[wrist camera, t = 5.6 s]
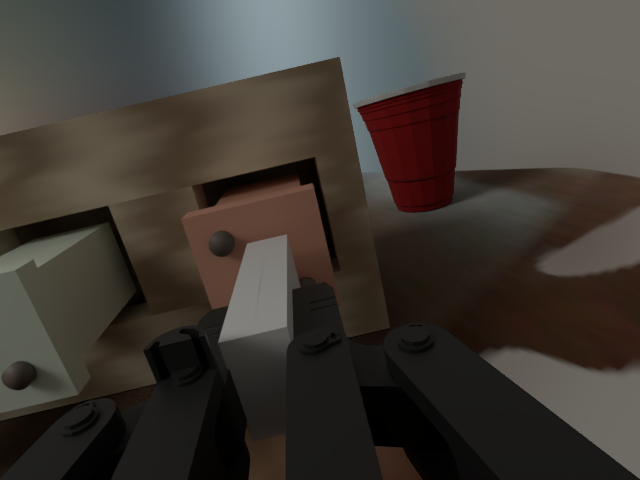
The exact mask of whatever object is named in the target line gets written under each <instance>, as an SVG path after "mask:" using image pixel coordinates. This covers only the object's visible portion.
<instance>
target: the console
mask: <svg viewBox="0 0 640 480" xmlns="http://www.w3.org/2000/svg"><path fill="white" fill-rule="evenodd" d="M295 172H298V176H299V180H300V184H301V186H303V185H307V184H311V183H312V184H313V186H314V190H315V194H316V199H317V203H318V207H319V212H320V216H321V220H322V225H323V229H324V234H325V238H326V242H327V247H328V251H329V256H330V260H331V264H332V269H333V273H334V277H335V282H336V286H337V291H338V295H339V299H340V304H341V307H338V308H339V312H340V316H341V320H342V324H343V327H344V331H345V334H346V336H347V337H348V338H349V337H353V336H358V335H362V334H366V333H370V332H374V331H379V330H383V329H387V328H390V324H389V318H388V313H387V308H386V302H385V297H384V292H383V286H382V281H381V276H380V270H379V265H378V260H377V254H376V249H375V243H374V238H373V233H372V227H371V222H370V217H369V211H368V206H367V201H366V195H365V190H364V185H363V179H362V174H361V169H360V163H359V158H358V153H357V147H356V142H355V136H354V131H353V126H352V120H351V115H350V110H349V104H348V100H347V94H346V88H345V83H344V78H343V72H342V67H341V62H340V58H339V57H337V58H333V59H329V60H324V61H320V62H316V63H311V64H307V65H303V66H298V67H294V68H290V69H286V70H282V71H277V72H273V73H268V74H264V75H260V76H255V77H251V78H247V79H242V80H238V81H234V82H229V83H225V84H221V85H217V86H212V87H208V88H204V89H199V90H196V91H191V92H186V93H182V94H178V95H173V96H169V97H165V98H161V99H156V100H152V101H148V102H143V103H139V104H135V105H130V106H126V107H122V108H117V109H114V110H109V111H105V112H100V113H96V114H92V115H87V116H83V117H79V118H74V119H70V120H66V121H61V122H57V123H53V124H49V125H44V126H40V127H36V128H31V129H27V130H23V131H19V132H15V133H10V134H6V135H1V136H0V256H2V255H4V254H6V253H8V252H10V251H12V250H14V249H16V248H17V247H19V246H21V245H23V244H25V243H27V242H29V241H31V240H33V239H38V238H42V237H46V236H50V235H55V234H59V233H63V232H67V231H72V230H76V229H80V228H84V227H89V226H93V225H97V224H102V223H106V222H109V224H110V226H111V229H112V231H113V233H114V236H115V238H116V241H117V243H118V246H119V248H120V251H121V253H122V255H123V258H124V260H125V263H126V265H127V268H128V270H129V273H130V275H131V277H132V280H133V282H134V285H135V287H136V290H137V291H136V292H135V294H134V295H133V296H132V297H131V298H130V300H129V301H128V302H127V303H126V305H125V306H124V307H123V308H122V310H121V311H120V312H119V313H118V315H117V316H116V317H115V318H114V319H113V321H112V322H111V323H110V324H109V326H108V327H107V328H106V329H105V331H104V332H103V333H102V334H101V336H100V337H99V338H98V339H97V340H96V342H95V343H94V344H93V345H92V347H91V348H90V349H89V350H88V352H87V353H86V354H85V355H84V356H83V358H82V360H83V362H84V364H85V366H86V368H87V370H88V372H89V374H90V376H91V378H90V379H89V381H88V382H87V383H86V385H85V386H84V388H83V389H82V390H81V392H80V393H79V395H75V396H71V397H67V398H62V399H58V400H54V401H50V402H46V403H41V404H37V405H33V406H29V407H25V408H20V409H16V410H12V411H8V412H4V413H0V421H2V420H6V419H10V418H15V417H19V416H23V415H27V414H31V413H35V412H40V411H44V410H48V409H52V408H56V407H61V406H65V405H69V404H73V403H77V402H81V401H86V400H90V399H94V398H98V397H102V396H107V395H111V394H115V393H119V392H123V391H128V390H132V389H136V388H140V387H144V386H148V385H153V384H156V383H157V382H156V380H155V378H154V375H153V373H152V371H151V368H150V366H149V364H148V361H147V359H146V357H145V354H144V352H143V350H144V348H145V347H146V346H147V345H148V344H149V343H150V342H151V341H153V340H154V339H155V338H157V337H158V336H160V335H162V334H164V333H166V332H168V331H170V330H173V329H176V328H179V327H182V326H190V325H195V326H198V323H199V321H200V320H201V319H202V318H203V317H204V316H205V315H206V314H207V313H208V312H209V311H210V310H212V307H211V304H210V301H209V299H208V296H207V293H206V290H205V287H204V284H203V281H202V278H201V275H200V273H199V270H198V267H197V264H196V261H195V258H194V255H193V252H192V249H191V247H190V244H189V241H188V238H187V235H186V232H185V229H184V226H183V224H182V221H181V219H182V218H183V217H184V216H185V215H186V214H187V213H188V212H192V211H196V210H201V209H205V208H209V207H213V206H215V205H216V204H217V203H218V201H219V200H220V198H221V197H222V196H223V194H224V193H225V191H226V190H227V189H228V188H231V187H235V186H239V185H244V184H248V183H252V182H256V181H261V180H265V179H269V178H273V177H278V176H282V175H286V174H290V173H295Z"/></svg>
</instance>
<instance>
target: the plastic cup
mask: <svg viewBox="0 0 640 480" xmlns="http://www.w3.org/2000/svg"><path fill="white" fill-rule="evenodd" d="M464 78H465V73H459V74H454V75H450V76H445V77H441V78H437V79H434V80H430V81H426V82H423V83H419V84H415V85H412V86H408V87H404V88H401V89H398V90H394V91H391V92H388V93H384V94H381V95H378V96H375V97H372V98H369V99H365V100H362V101H360V102H357V103H355V104H353V106H354V108H355V109H356V108H357V109H358V112H359V113H360V115H361V116H362V119H363V121H365V124H366V126H367V129H368V131H369V132H370V135H371V138H372V141H373V144H374V146H375V149H376V152H377V155H378V158H379V161H380V164H381V166H382V169H383V172H384V175H385V178H386V180H387V181H388V184H389V187H390V190H391V193H392V196H393V199H394V202H395V204H396V205H397V208H398V210H401V211H404V212H422V211H428V210H433V209H437V208H440V207H443V206H446V205H447V204H449V203H451V201H452V195H453V193H454V175H455V167H456V155H457V135H458V134H457V133H458V114H459V109H460V97H461V88H462V83H463V82H462V79H464Z"/></svg>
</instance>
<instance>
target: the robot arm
mask: <svg viewBox="0 0 640 480" xmlns="http://www.w3.org/2000/svg"><path fill="white" fill-rule="evenodd" d="M143 352H144V354H145V357H146V359H147V361H148V364H149V366H150V368H151V371H152V373H153V375H154V378H155V380H156V382H157V383H156V385H155V387H154V389H153V391H152V393H151V396H150V398H149V399H148V400H146V401H144V402H142V403H139V404H137V405H135V406H133V407H130V408H128V409H126V410H123V411H121V412H120V411H119V409H118V407H117V405H116V403H115V402H114V401H113V400H112V399H108V398H100V399H95V400H90V401H87V402H84V404H83V403H82V404H80V405H78V406H76V407H74V408H73V409H72V410H71V411H69V412H67V413H66V414H64V415H63V416H62V417H61V418H59V419H58V420H57V421H56V422H55V423H54V424H53V425H52V426H51V427H50V428H49V429H48V430H47V431H46V432H45V433H44V434H43V435H42V436H41V437H40V438H39V439H38V440H37V441H36V442H35V443H34V444H33V445H32V446H31V447H30V448H29V449H28V450H27V451H26V452H25V453H24V454H23V455H22V456H21V457H20V458H19V459H18V460H17V461H16V462H15V463H14V464H13V465H12V466H11V467H10V468H9V469H8V470H7V471H6V472H5V473H4V474H3V475H2V476H1V477H0V480H248V477H249V468H250V455H249V451H248V448H247V445H246V442H245V440H244V439H245V431H246V424H247V427H248V430H249V433H250V435H251V438H252V441H257V440H261V439H265V438H269V437H274V436H278V435H282V434H286V480H383V479H382V475H381V471H380V467H379V463H378V459H377V455H376V451H375V447H374V446H386V447H403V448H404V451H405V453H406V456H407V457H408V459H409V460H410V462H411V463H412V465H413V466H414V468H415V469H416V471H417V472H418V473H419V475H420V476H421V478H422V479H423V480H640V479H639V478H637V477H636V476H635V475H634V474H632V473H631V472H630V471H628V470H627V469H626V468H624V467H623V466H622V465H621V464H619V463H618V462H616V461H615V460H614V459H613V458H611V457H610V456H609V455H608V454H606V453H605V452H604V451H602V450H601V449H600V448H599V447H597V446H596V445H595V444H593V443H592V442H591V441H589V440H588V439H587V438H586V437H584V436H583V435H582V434H580V433H579V432H578V431H576V430H575V429H574V428H572V427H571V426H570V425H569V424H567V423H566V422H565V421H563V420H562V419H561V418H559V417H558V416H557V415H556V414H554V413H553V412H552V411H550V410H549V409H548V408H546V407H545V406H544V405H543V404H541V403H540V402H539V401H537V400H536V399H535V398H533V397H532V396H531V395H530V394H528V393H527V392H526V391H524V390H523V389H522V388H520V387H519V386H518V385H517V384H515V383H514V382H513V381H511V380H510V379H509V378H507V377H506V376H505V375H503V374H502V373H501V372H500V371H498V370H497V369H496V368H494V367H493V366H492V365H491V364H489V363H488V362H487V361H485V360H484V359H483V358H481V357H480V356H479V355H478V354H476V353H475V352H474V351H472V350H471V349H470V348H468V347H467V346H466V345H465V344H463V343H462V342H461V341H459V340H458V339H457V338H455V337H454V336H453V335H451V334H450V333H449V332H448V331H446V330H445V329H443V328H441V327H439V326H437V325H435V324H429V323H424V322H423V323H420V322H417V323H409V324H406V325H402V326H399V327H397V328H395V329H393V330H392V331H390V332H389V333H388V334H387V336H386V337H385V338H384V342H383V345H364V344H359V343H356V342H354V341H352V340H351V339H349V338H348V337H347V336H346V334H345V331H344V327H343V324H342V320H341V316H340V312H339V308H338V304H337V300H336V296H335V292H334V289H333V287H332V286H330V285H329V284H327V283H326V282H322V283H318V284H313V285H309V286H305V287H301V286H300V283H299V279H298V275H297V271H296V267H295V263H294V259H293V256H292V252H291V248H290V244H289V240H288V236H287V234H286V235H282V236H277V237H273V238H269V239H265V240H260V241H256V242H252V243H247V246H246V249H245V252H244V256H243V259H242V263H241V266H240V269H239V273H238V276H237V280H236V283H235V286H234V290H233V293H232V297H231V300H230V303H229V306H225V307H221V308H217V309H213V310H210V311H209V312H208V313H207V314H206V315H205V316H204V317H203V318H202V319H201V320H200V321H199V323H198V326H195V325H190V326H182V327H179V328H176V329H173V330H170V331H168V332H166V333H164V334H162V335H160V336H158V337H157V338H155V339H154V340H153V341H151V342H150V343H149V344H148V345H147V346H146V347H145V348H144V350H143Z"/></svg>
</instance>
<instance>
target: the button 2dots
mask: <svg viewBox="0 0 640 480" xmlns="http://www.w3.org/2000/svg"><path fill="white" fill-rule="evenodd" d="M136 291H137V290H136V287H135V285H134V282H133V280H132V277H131V275H130V273H129V270H128V268H127V265H126V263H125V260H124V258H123V255H122V253H121V251H120V248H119V246H118V243H117V241H116V238H115V236H114V233H113V231H112V229H111V226H110V224H109V222H106V223H102V224H97V225H93V226H89V227H84V228H80V229H76V230H72V231H67V232H63V233H59V234H55V235H50V236H46V237H42V238H38V239H33V240H31V241H29V242H27V243H25V244H23V245H21V246H19V247H17V248H16V249H14V250H12V251H10V252H8V253H6V254H4V255H2V256H0V413H4V412H8V411H12V410H16V409H20V408H25V407H29V406H33V405H37V404H41V403H46V402H50V401H54V400H58V399H62V398H67V397H71V396H75V395H79V393H80V392H81V390H82V389H83V388H84V386H85V385H86V383H87V382H88V381H89V379H90V378H91V376H90V374H89V372H88V370H87V368H86V366H85V364H84V362H83V360H82V358H83V356H84V355H85V354H86V353H87V352H88V350H89V349H90V348H91V347H92V345H93V344H94V343H95V342H96V340H97V339H98V338H99V337H100V336H101V334H102V333H103V332H104V331H105V329H106V328H107V327H108V326H109V324H110V323H111V322H112V321H113V319H114V318H115V317H116V316H117V315H118V313H119V312H120V311H121V310H122V308H123V307H124V306H125V305H126V303H127V302H128V301H129V300H130V298H131V297H132V296H133V295H134V294H135V292H136Z"/></svg>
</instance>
